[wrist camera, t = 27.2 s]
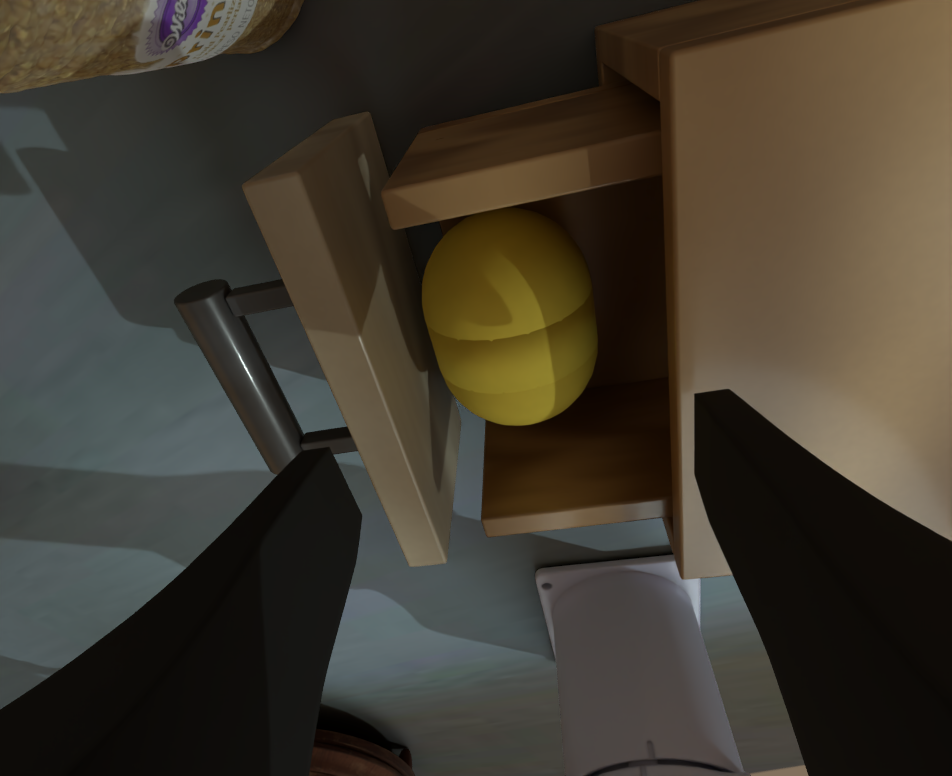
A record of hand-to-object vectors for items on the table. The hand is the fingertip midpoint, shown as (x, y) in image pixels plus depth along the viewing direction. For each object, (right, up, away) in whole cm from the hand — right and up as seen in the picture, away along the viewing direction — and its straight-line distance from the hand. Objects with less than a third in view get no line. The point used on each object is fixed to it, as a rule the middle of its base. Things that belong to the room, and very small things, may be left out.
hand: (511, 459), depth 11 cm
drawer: (0, +5, +7) cm, 9 cm away
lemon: (0, +5, +6) cm, 8 cm away
